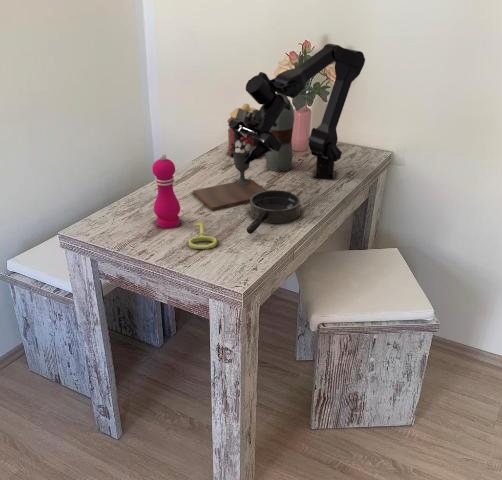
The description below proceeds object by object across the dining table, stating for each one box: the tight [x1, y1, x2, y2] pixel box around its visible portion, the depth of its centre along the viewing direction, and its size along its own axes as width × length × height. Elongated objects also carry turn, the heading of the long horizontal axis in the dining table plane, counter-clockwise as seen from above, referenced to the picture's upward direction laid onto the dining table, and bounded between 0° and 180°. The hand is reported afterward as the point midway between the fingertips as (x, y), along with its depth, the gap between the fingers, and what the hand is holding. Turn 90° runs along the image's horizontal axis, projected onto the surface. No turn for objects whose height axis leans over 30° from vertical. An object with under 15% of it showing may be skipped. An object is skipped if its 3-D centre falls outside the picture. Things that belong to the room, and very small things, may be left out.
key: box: [188, 220, 218, 250], centre depth 152 cm, size 7×12×2 cm, turn 23°
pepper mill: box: [151, 153, 181, 229], centre depth 155 cm, size 7×7×20 cm
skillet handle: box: [246, 211, 268, 235], centre depth 154 cm, size 12×2×2 cm, turn 156°
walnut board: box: [192, 178, 268, 211], centre depth 176 cm, size 20×14×1 cm
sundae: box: [230, 132, 252, 186], centre depth 165 cm, size 7×7×15 cm
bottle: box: [264, 92, 295, 172], centre depth 188 cm, size 9×9×30 cm
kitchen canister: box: [227, 103, 259, 155], centre depth 203 cm, size 13×13×18 cm
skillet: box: [249, 189, 302, 224], centre depth 164 cm, size 14×14×4 cm
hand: (238, 159), depth 165 cm, fingers closed on sundae, 6 cm apart
